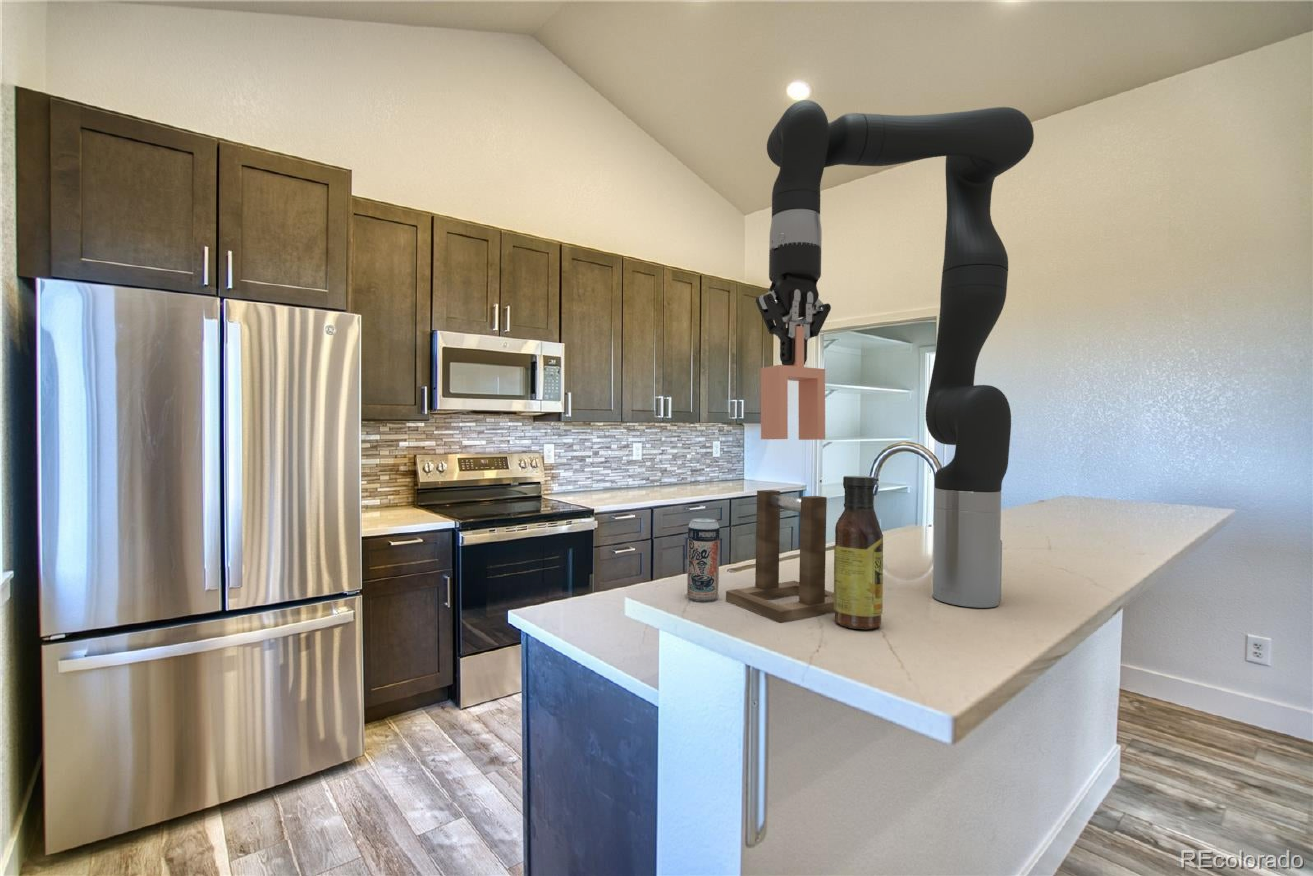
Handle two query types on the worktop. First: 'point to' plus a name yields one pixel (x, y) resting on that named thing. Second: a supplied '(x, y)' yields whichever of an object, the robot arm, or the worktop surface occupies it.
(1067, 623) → the worktop surface
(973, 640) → the worktop surface
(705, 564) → the beer can
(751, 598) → the brown wooden post stand
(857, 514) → the sauce bottle
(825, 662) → the worktop surface
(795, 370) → the orange arch with tab
